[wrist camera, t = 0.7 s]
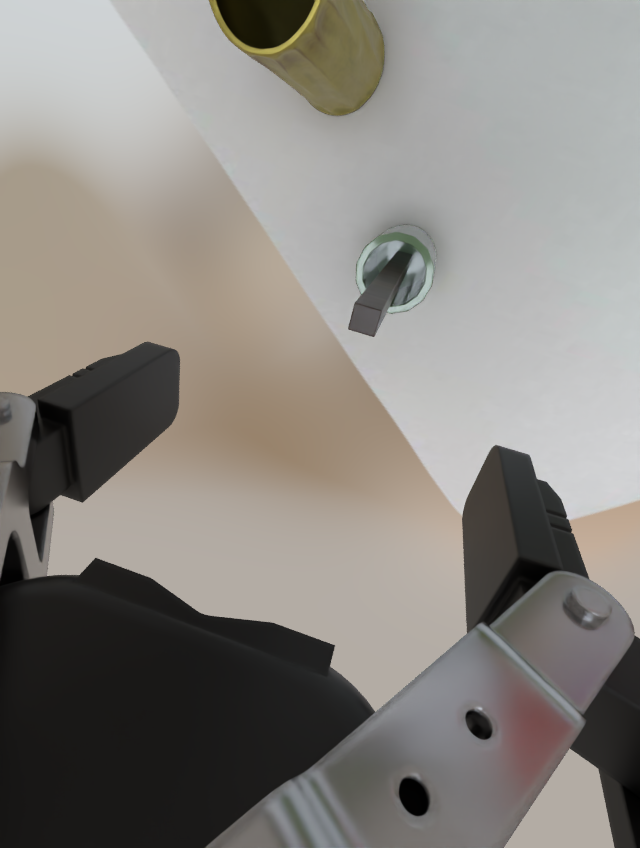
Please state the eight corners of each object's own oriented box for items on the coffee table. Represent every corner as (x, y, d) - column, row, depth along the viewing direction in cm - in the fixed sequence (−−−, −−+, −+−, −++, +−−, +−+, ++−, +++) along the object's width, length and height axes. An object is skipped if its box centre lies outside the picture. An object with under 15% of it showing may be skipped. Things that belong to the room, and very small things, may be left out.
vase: (404, 42, 28) (370, -67, 16) (348, 136, 31) (284, 103, 19) (329, -24, 28) (236, -188, 16) (280, 78, 31) (171, 8, 19)
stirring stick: (397, 250, 34) (354, 302, 18) (412, 254, 34) (382, 310, 18) (393, 266, 34) (347, 329, 19) (407, 270, 34) (374, 337, 19)
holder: (381, 217, 33) (366, 223, 27) (446, 234, 33) (446, 244, 27) (364, 282, 36) (347, 301, 30) (424, 299, 35) (419, 322, 29)
